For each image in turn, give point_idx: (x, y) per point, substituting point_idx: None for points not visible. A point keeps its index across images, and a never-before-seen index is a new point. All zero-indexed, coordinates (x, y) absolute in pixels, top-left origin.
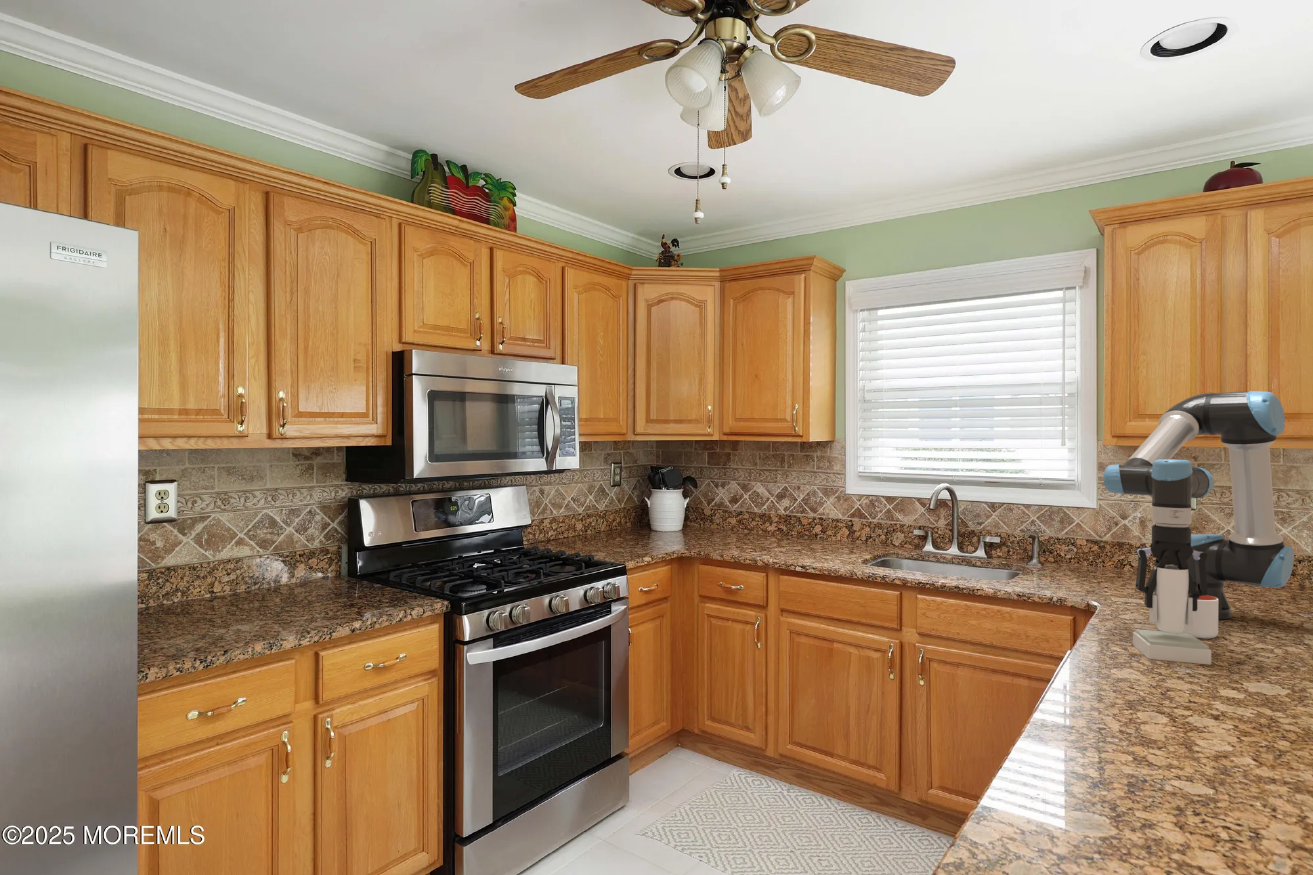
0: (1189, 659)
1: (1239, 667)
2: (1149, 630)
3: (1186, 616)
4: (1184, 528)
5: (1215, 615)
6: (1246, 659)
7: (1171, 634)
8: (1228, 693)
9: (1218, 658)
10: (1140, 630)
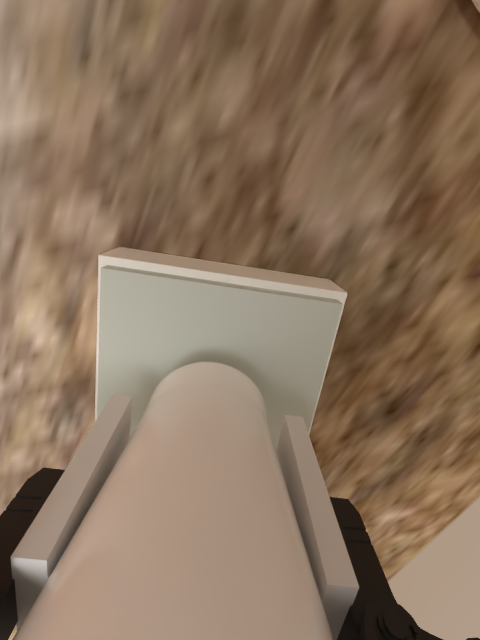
0: None
1: (360, 453)
2: (165, 283)
3: (284, 477)
4: None
5: None
6: (455, 363)
7: (241, 339)
8: None
9: (361, 371)
10: (117, 294)
